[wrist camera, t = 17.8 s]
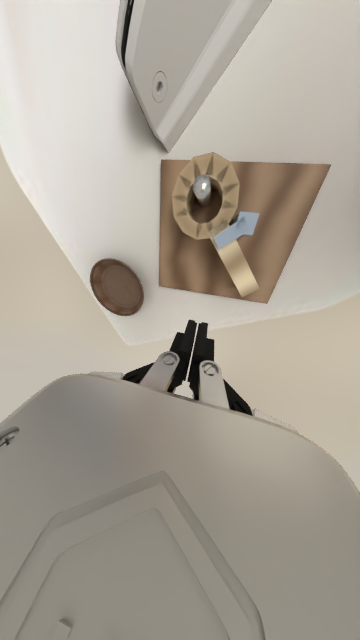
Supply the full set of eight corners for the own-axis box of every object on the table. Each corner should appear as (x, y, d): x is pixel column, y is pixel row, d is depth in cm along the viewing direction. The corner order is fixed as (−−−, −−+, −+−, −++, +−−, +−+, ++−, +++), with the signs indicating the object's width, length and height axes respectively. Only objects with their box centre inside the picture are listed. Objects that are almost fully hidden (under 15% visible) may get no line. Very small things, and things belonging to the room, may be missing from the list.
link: (171, 203, 25) (160, 194, 20) (217, 156, 21) (217, 130, 16) (224, 294, 31) (225, 305, 26) (267, 271, 27) (279, 278, 22)
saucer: (87, 261, 36) (79, 263, 34) (138, 252, 32) (132, 254, 30) (110, 312, 43) (104, 316, 41) (153, 310, 39) (149, 315, 37)
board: (326, 167, 20) (331, 164, 19) (265, 301, 31) (267, 303, 30) (163, 162, 23) (161, 159, 23) (160, 284, 34) (159, 285, 33)
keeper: (247, 220, 25) (259, 213, 18) (239, 249, 27) (247, 252, 20) (218, 217, 25) (218, 209, 18) (212, 246, 28) (211, 248, 21)
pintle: (213, 192, 24) (211, 174, 17) (210, 208, 25) (208, 197, 18) (200, 191, 24) (194, 173, 17) (198, 207, 25) (192, 196, 19)
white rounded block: (167, 155, 23) (117, 74, 14) (152, 132, 23) (94, 38, 14) (275, -6, 15) (317, -420, 6) (251, -39, 15) (259, -489, 6)
